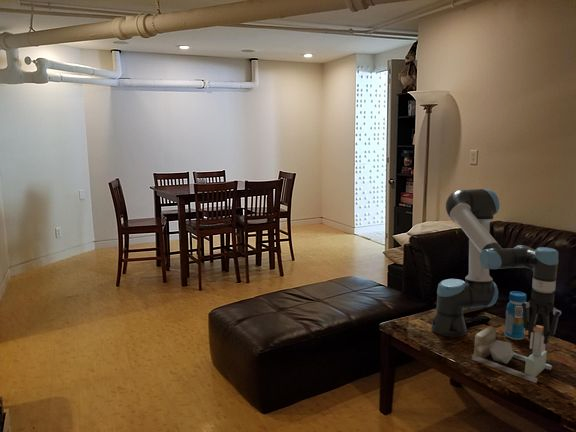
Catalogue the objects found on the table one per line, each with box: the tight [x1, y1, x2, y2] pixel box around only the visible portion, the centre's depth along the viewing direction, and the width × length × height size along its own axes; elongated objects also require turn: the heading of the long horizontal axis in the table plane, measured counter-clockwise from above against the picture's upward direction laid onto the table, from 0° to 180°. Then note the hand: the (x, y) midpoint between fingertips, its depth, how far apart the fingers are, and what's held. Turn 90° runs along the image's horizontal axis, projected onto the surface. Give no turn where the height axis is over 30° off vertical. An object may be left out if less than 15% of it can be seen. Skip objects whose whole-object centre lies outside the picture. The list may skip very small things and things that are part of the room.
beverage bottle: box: [503, 290, 527, 341], centre depth 208 cm, size 8×8×20 cm
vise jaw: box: [524, 324, 548, 378], centre depth 177 cm, size 4×12×18 cm, turn 132°
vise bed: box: [471, 326, 553, 384], centre depth 184 cm, size 24×15×10 cm, turn 42°
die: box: [490, 339, 515, 365], centre depth 187 cm, size 8×9×10 cm
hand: (537, 349), depth 177 cm, fingers closed on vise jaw, 3 cm apart
